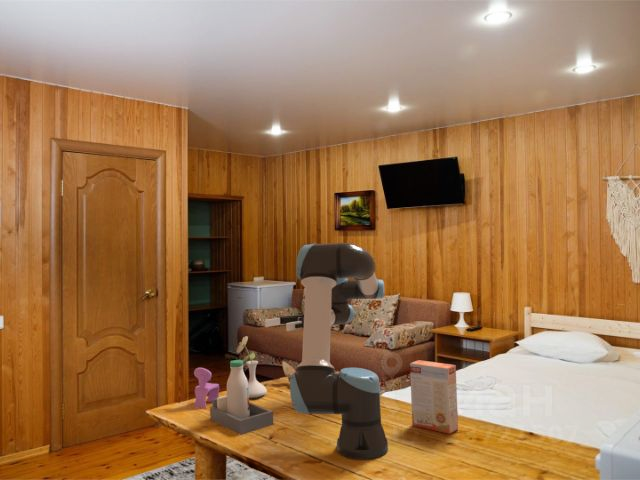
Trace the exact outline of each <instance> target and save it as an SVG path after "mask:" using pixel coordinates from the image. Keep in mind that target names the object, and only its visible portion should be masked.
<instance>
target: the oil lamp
mask: <svg viewBox="0 0 640 480" xmlns="http://www.w3.org/2000/svg"><path fill="white" fill-rule="evenodd" d="M281 364H282V370H283V373H284V375H285V376H286V377H287V380H288V382H289V383H290V377H291V375H292V374H294V373H296V372H297V370H296V369H295V368H294V367H293V366H291V365H290V364H289V363H287V362H285V361H284V360H282V362H281Z"/></svg>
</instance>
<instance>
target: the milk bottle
mask: <svg viewBox="0 0 640 480" xmlns="http://www.w3.org/2000/svg"><path fill="white" fill-rule="evenodd" d="M229 365H230V373H229V376H228V379H227V382H226V395H227V413H228V414H230V415H233V416H235V417H237V418H239V419H244V418H248V417H249V416H250V407H249V402H250V398H249V387H248V381H249V380H248V378H247V376H246V375H245V372H244V369H243V368H244V361H243V360H242V359H235V360H230V362H229Z"/></svg>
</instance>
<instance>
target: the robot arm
mask: <svg viewBox="0 0 640 480" xmlns="http://www.w3.org/2000/svg"><path fill="white" fill-rule="evenodd" d="M297 254H298V255H297V258H296V264H295V267H296V270H295V271H296V272H295V273H296V277H297V279H298V280H301V281H300V283H301V285H302V286H303V287H304V288H305V290H304V291H305V292H304V308H303V309H304V310H303V311H304V314H302V315H301V314H296V315H285V316H284V315H282V316H280V315H279V316H276V317H274V318H268V319H267V318H266V319H264V327H265V328H269V327H276V326H278V327H280V326H281V325H285V330H286V332H291V331H297V330H302V329H303V333H302V334H303V335H302V353H301V356H302V357H301V362H300V363H299V364H298V365H297V366H296V372H295V373H294V374H292V375H291V377H290V382H289V392H290V393H289V394H290V399H291V404H292V407H293V409H294V410H295V411H296V412H297V413H298V414H308V415H341V427H340V429H339V433H338V438H337V441H336V451H337V453H338V454H339V455H341V456H343V457H346V458H348V459H353V460H371V459H376V458H380V457H382V456H384V455H386V454H387V453H388V451H389V442H388V438H387V437H386V433H385V430H384V428H383V424H382V412H381V409H382V407H381V387H380V385H381V384H380V378H379V376H378V374H377V373H375V372H374V371H372V370H369V369H366V368H361V367H344V368H342V369H340V371H339V373H335V369H336V368H335V367H334V365H332V364H331V362H330V361H331V329H332V328H331V327H332V326H337V325H338V326H339V325H346V324H348V323H351V322H353V320H354V318H355V310H354V307H353V306H352V305H351V304H349V300H372V299H373V300H378V299H383V298H384V297H385V282H384V280H383V279H378V278H377V274H376V272H375V271H376V266H377V265H376V261H375V258H374V257H373V255H372V254H370V252H368V251H367V250H366V249H365V248H363V247H361V246H359V245H357V244H354V243H350V242H349V243H348V242H342V243H341V242H339V243H337V242H336V243H311V244H304V245H302V247H301V248H300V249H299V252H298V253H297Z"/></svg>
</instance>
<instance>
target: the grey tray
mask: <svg viewBox="0 0 640 480" xmlns="http://www.w3.org/2000/svg"><path fill="white" fill-rule="evenodd" d="M211 403H212V404H211V406H209V417H210V418H209V419H210V421H212V422H214V423H216V424H218V425H220V426H222V427H224V428H227V429H228V430H231V431H233V432H234V433H236V434H239V435H243V434H247V433H250V432H251V433H252V432H253V431H257V430H261V429H263V428H266V427H269V426H273V425H274V411H273V410H270V409H269V408H265V407H264V406H261V405H258V404H255V403H253V402H250V401H249V407H250V416H249V417H248V418H244V419H239V418H237V417H235V416H233V415H230V414H228V413H226V412H224V411H221V410H219V409H217V398H216V399H212V402H211Z"/></svg>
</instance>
